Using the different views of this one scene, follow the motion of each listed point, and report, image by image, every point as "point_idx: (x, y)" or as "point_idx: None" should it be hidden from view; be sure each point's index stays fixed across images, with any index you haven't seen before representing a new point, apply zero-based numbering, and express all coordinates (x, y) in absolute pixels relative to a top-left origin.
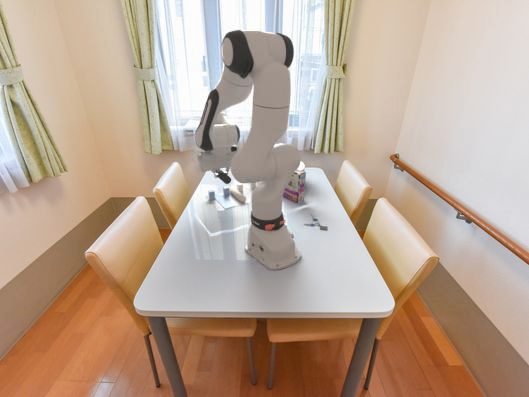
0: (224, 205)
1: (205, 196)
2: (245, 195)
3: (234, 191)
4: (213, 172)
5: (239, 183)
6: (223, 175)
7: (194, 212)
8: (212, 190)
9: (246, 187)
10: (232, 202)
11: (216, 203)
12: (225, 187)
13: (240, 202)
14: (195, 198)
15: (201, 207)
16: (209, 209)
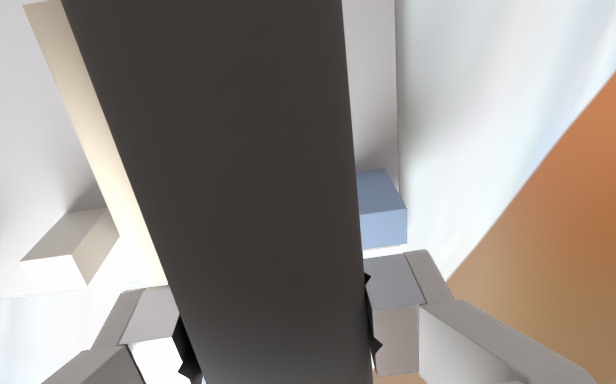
0: None
1: (399, 244)
2: (47, 139)
3: None
4: (557, 357)
5: (57, 288)
6: (278, 116)
7: (573, 36)
8: (366, 238)
9: (26, 275)
10: None
11: (357, 91)
12: None
13: None
14: (463, 256)
15: (484, 102)
16: (439, 35)
